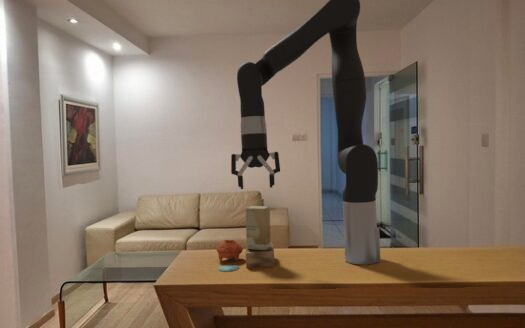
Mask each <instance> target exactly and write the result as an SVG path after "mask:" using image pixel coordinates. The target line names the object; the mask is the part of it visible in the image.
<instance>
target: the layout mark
mask: <svg viewBox="0 0 525 328" xmlns="http://www.w3.org/2000/svg"><path fill="white" fill-rule="evenodd" d="M239 269H240V266H239V265H236V264H235V265H234V264H226V265H222V266H219V267H218V268H217V270H218V271H219V272H223V273H224V272H226V273H227V272H228V273H229V272H234V271H237V270H239Z"/></svg>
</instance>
